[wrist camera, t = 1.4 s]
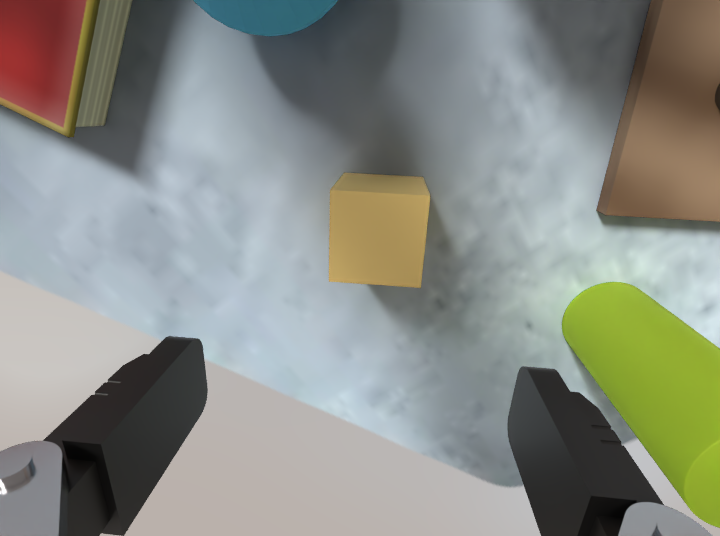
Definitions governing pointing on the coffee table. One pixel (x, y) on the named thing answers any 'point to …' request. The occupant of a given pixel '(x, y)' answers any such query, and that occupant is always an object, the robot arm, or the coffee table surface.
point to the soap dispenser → (655, 384)
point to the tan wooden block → (378, 229)
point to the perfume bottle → (267, 14)
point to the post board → (670, 119)
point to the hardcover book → (61, 59)
